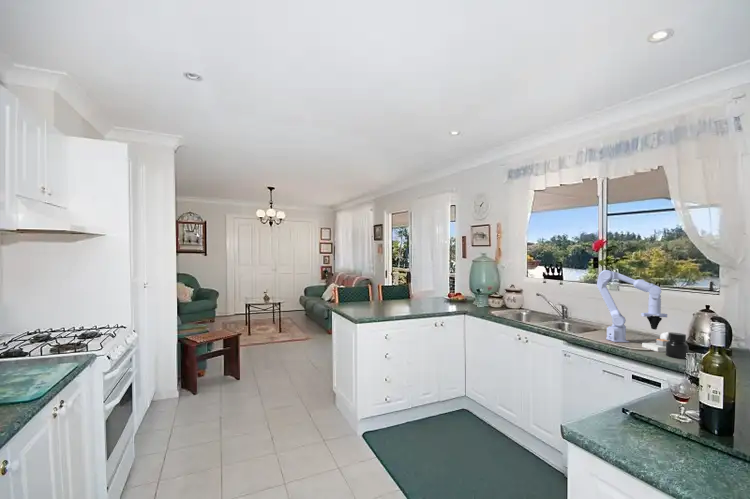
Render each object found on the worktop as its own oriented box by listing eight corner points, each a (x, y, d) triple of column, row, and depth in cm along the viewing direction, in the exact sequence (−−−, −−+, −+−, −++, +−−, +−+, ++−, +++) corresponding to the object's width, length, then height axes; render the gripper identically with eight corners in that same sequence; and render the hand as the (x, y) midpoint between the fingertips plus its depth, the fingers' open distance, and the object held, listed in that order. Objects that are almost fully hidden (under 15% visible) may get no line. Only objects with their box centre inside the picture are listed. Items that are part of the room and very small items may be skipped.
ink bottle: (692, 358, 178) (692, 335, 178) (685, 360, 173) (685, 336, 174) (669, 353, 186) (669, 331, 187) (661, 355, 182) (661, 332, 182)
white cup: (677, 336, 211) (686, 339, 202) (668, 346, 212) (677, 349, 203) (664, 328, 214) (672, 330, 204) (655, 338, 215) (663, 341, 205)
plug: (662, 349, 193) (662, 340, 194) (656, 347, 197) (656, 338, 198) (669, 349, 194) (669, 340, 194) (662, 347, 198) (663, 339, 198)
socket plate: (657, 351, 190) (657, 346, 190) (642, 347, 200) (642, 341, 200) (684, 352, 191) (684, 346, 191) (667, 347, 201) (668, 342, 201)
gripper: (648, 306, 200) (648, 330, 200) (672, 307, 201) (671, 331, 201) (638, 304, 207) (638, 327, 207) (661, 305, 208) (661, 328, 208)
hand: (653, 329), depth 204 cm, fingers closed
